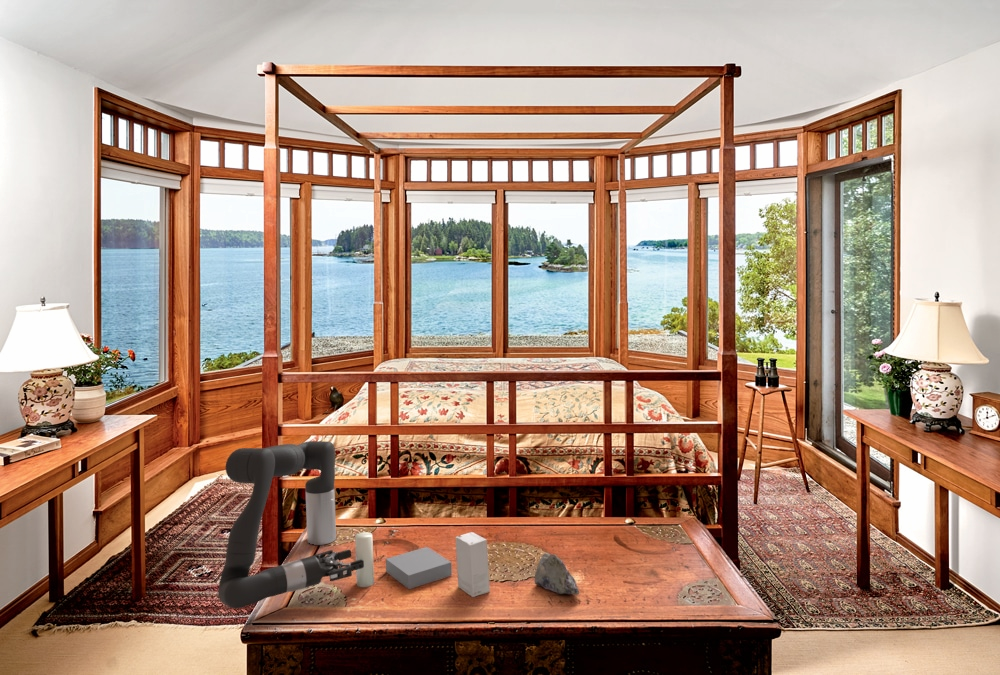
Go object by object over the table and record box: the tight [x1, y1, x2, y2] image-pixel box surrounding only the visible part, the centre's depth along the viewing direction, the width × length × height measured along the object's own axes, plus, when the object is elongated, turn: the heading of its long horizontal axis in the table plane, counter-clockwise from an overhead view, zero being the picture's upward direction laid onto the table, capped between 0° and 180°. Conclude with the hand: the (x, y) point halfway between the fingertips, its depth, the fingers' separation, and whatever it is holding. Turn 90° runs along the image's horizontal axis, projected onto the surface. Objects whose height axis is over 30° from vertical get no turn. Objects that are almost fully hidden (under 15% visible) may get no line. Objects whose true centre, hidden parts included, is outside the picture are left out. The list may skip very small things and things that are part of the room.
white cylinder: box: [354, 531, 375, 588], centre depth 185 cm, size 5×5×14 cm
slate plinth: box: [385, 546, 453, 590], centre depth 191 cm, size 14×14×4 cm
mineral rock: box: [533, 552, 580, 596], centre depth 179 cm, size 13×11×10 cm
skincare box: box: [455, 531, 491, 598], centre depth 180 cm, size 8×6×15 cm
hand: (356, 558), depth 184 cm, fingers open, 8 cm apart
